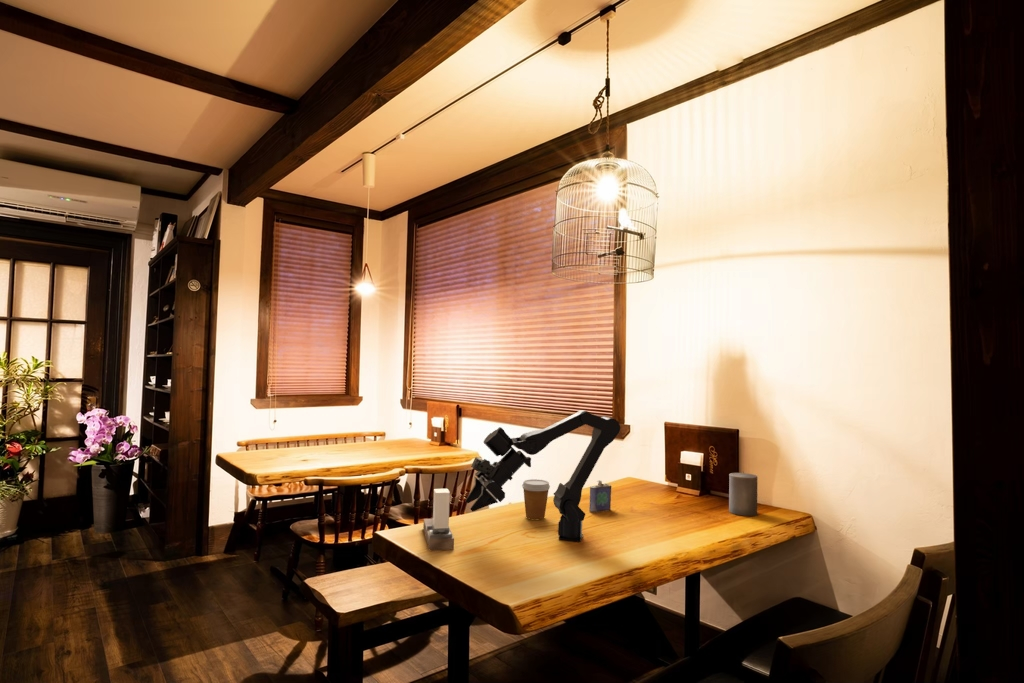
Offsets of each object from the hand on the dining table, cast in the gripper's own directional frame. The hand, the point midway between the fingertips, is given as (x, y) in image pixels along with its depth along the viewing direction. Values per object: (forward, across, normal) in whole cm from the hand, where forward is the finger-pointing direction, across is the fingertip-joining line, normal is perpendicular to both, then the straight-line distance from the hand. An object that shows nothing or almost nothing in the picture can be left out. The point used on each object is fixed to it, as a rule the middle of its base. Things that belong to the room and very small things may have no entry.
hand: (468, 506), depth 166 cm
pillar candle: (-66, -19, +81) cm, 106 cm away
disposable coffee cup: (-11, -23, +26) cm, 37 cm away
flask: (-29, -29, +45) cm, 61 cm away
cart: (+11, 0, 0) cm, 11 cm away
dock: (+13, -5, +2) cm, 14 cm away
